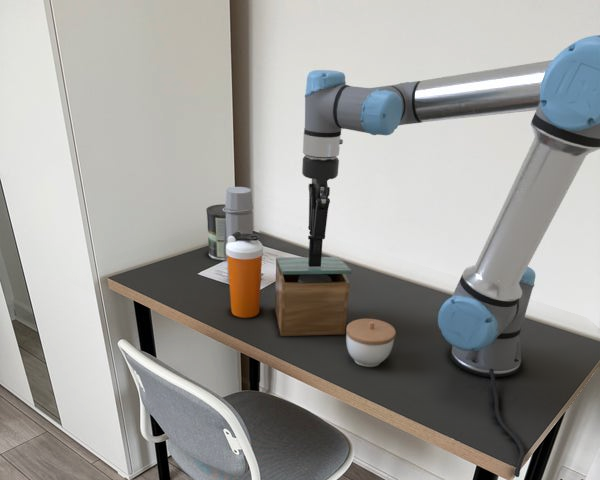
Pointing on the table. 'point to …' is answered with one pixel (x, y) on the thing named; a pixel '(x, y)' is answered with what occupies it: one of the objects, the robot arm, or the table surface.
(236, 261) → the shaker bottle
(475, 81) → the robot arm
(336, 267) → the chest lid
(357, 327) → the trinket box
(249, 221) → the water bottle
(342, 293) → the chest
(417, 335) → the table surface
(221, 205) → the coffee can
